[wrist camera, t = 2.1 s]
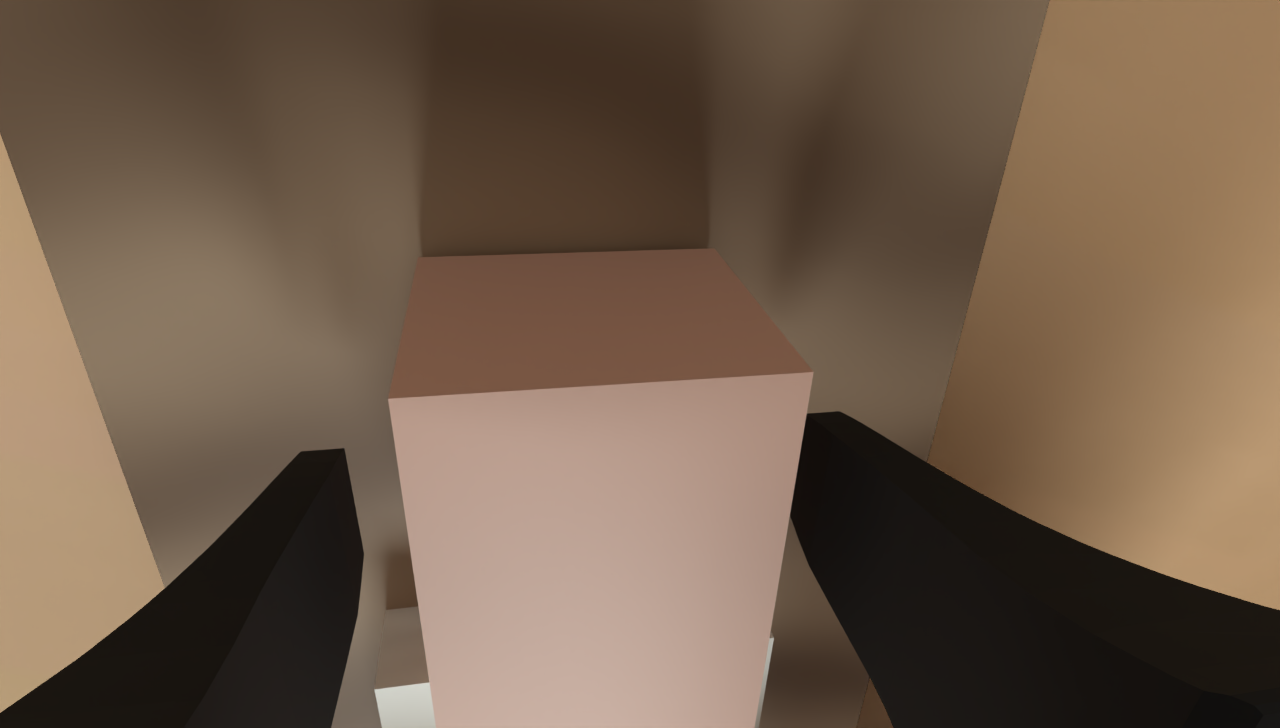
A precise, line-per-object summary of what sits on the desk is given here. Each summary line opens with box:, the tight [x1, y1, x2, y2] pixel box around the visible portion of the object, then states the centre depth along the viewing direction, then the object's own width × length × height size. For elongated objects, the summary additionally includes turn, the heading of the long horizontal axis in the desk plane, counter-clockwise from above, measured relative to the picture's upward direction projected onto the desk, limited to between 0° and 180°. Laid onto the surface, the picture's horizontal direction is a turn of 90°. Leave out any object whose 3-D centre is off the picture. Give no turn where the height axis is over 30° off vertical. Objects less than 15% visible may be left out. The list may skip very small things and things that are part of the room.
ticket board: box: [0, 0, 1049, 728], centre depth 15 cm, size 22×16×3 cm
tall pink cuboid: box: [388, 248, 814, 728], centre depth 12 cm, size 7×5×4 cm
